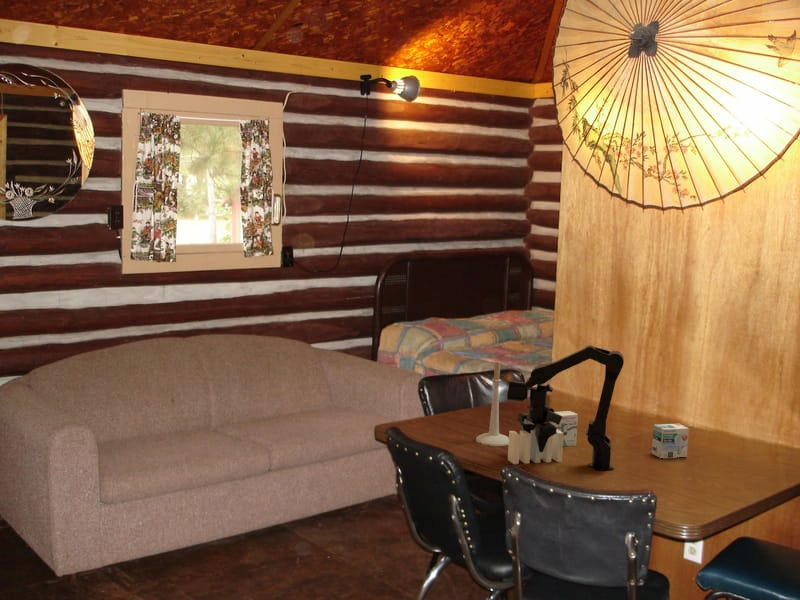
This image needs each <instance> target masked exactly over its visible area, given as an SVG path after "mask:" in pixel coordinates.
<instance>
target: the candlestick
mask: <svg viewBox="0 0 800 600" xmlns="http://www.w3.org/2000/svg"><path fill="white" fill-rule="evenodd" d="M500 374H501V361H499V360H496V361H494V371H493V378H492V379H491V381H492V385H493V390H492V391H493V392H492V400H491V410H490V418H489V429H488V432H485V433H482V434H479V435H477V437H476V438H475V442H476V443H478V444H480V443H481V444H480V445H484V446H488V445H489V447H505V446H508V445H509V436H507V435H504V434H501V433H500V428H499V427H500V420H499V417H500V416H499V415H500V413H499V412H500V411H499V410H500V407H499V406H500V405H499V402H500V400H499V399H500V396H499V395H500V389H499V386H500V385H501V382H502V379H500Z"/></svg>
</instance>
